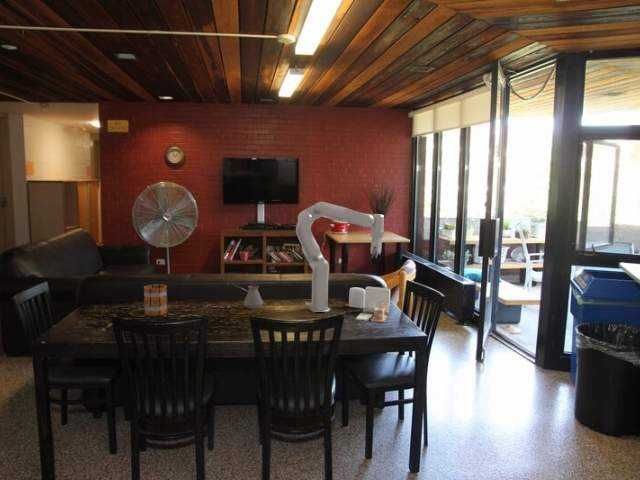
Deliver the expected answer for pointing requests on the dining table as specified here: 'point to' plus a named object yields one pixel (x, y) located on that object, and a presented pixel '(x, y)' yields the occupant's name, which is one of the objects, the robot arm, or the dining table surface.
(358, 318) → the sage pad
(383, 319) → the terracotta pad
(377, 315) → the birch block
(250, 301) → the coffee pot
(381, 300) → the wall unit
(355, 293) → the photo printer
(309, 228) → the robot arm
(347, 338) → the dining table surface
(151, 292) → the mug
